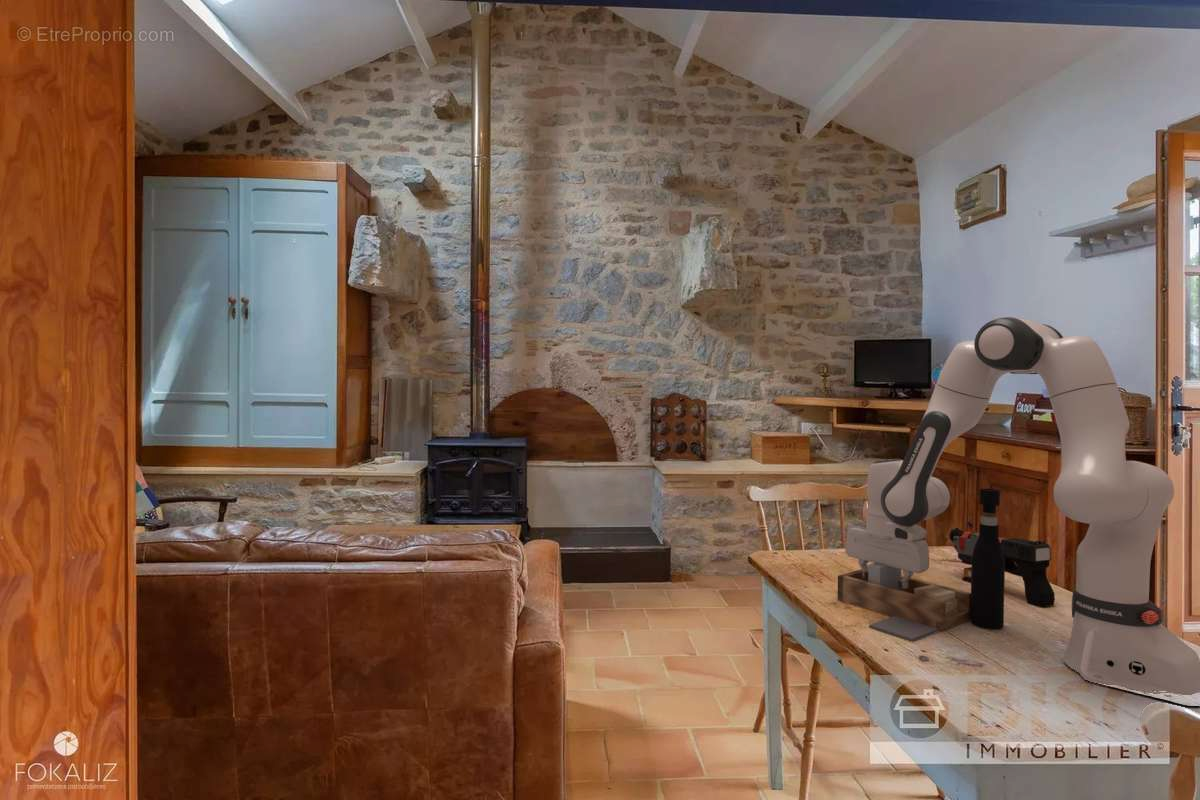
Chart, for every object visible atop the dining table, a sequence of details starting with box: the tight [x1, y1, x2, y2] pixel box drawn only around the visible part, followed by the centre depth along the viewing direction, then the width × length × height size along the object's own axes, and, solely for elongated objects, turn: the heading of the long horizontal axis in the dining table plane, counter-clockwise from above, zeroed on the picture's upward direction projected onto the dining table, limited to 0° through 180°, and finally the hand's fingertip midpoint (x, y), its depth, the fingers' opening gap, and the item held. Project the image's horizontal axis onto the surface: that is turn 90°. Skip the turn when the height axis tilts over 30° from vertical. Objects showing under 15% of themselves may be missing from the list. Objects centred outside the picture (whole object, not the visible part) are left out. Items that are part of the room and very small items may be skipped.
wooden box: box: [837, 566, 971, 632], centre depth 164 cm, size 26×13×6 cm, turn 36°
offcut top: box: [914, 585, 956, 603], centre depth 158 cm, size 6×6×2 cm
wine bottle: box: [969, 488, 1006, 631], centre depth 154 cm, size 6×6×30 cm
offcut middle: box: [945, 599, 957, 616], centre depth 158 cm, size 7×7×2 cm
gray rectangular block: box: [868, 563, 902, 591], centre depth 168 cm, size 3×9×10 cm, turn 126°
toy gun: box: [949, 526, 1056, 608], centre depth 179 cm, size 6×28×15 cm, turn 18°
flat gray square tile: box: [868, 616, 939, 642], centre depth 151 cm, size 10×10×1 cm
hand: (884, 582), depth 168 cm, fingers open, 8 cm apart
